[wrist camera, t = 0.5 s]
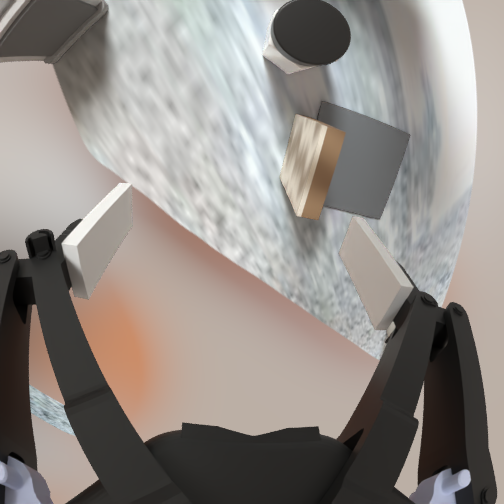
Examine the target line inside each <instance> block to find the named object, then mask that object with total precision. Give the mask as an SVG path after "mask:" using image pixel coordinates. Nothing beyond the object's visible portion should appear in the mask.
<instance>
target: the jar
mask: <svg viewBox="0 0 504 504" xmlns="http://www.w3.org/2000/svg"><path fill="white" fill-rule="evenodd" d="M350 40H351V33H350V28H349V25H348V23H347V21H346V19H345V18H344V16H343V15H342V14H341V13H340V12H339V11H338V10H337V9H336V8H335V7H333V6H332V5H330V4H328V3H326V2H324V1H321V0H292V1H290V2H288V3H286V4H285V5H283V6H282V7H281V8H280V9H279V10H276V11H275V12H274V14H273V16H272V19H271V21H270V23H269V25H268V27H267V32H266V37H265V42H264V47H263V53H262V55H263V56H264V57H266V58H267V59H268V60H270V61H271V62H272V63H274V64H275V65H276V66H277V67H279V68H280V69H281V70H283V71H284V72H285V73H286V74H291V73H295V72H298V71H302V70H306V69H310V68H314V67H317V66H322V65H328V64H331V63H333V62H336V61H338V59H339V58H341V57H342V56H343V55H344V54H345V52H346V51H347V49H348V47H349V45H350Z"/></svg>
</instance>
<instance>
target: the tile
mask: <svg viewBox="0 0 504 504" xmlns="http://www.w3.org/2000/svg"><path fill="white" fill-rule="evenodd" d="M345 134H346V132H344V131H342V130H339V129H337V128H335V127H332V126H330V125H328V124H325V123H323V122H320V121H318V120H315V119H313V118H310V117H306V116H302V115H298V114H296V115H295V119H294V122H293V126H292V130H291V134H290V138H289V142H288V146H287V150H286V154H285V158H284V161H283V165H282V169H281V173H280V179H281V181H282V183H283V186H284V188H285V190H286V193H287V195H288V197H289V199H290V202H291V204H292V206H293V209H294V211H295V213H296V216H299V217H304V218H309V219H314V220H318V219H319V216H320V213H321V210H322V207H323V204H324V201H325V198H326V195H327V192H328V189H329V186H330V183H331V180H332V177H333V174H334V170H335V167H336V164H337V161H338V158H339V154H340V151H341V148H342V144H343V141H344V137H345Z"/></svg>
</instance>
